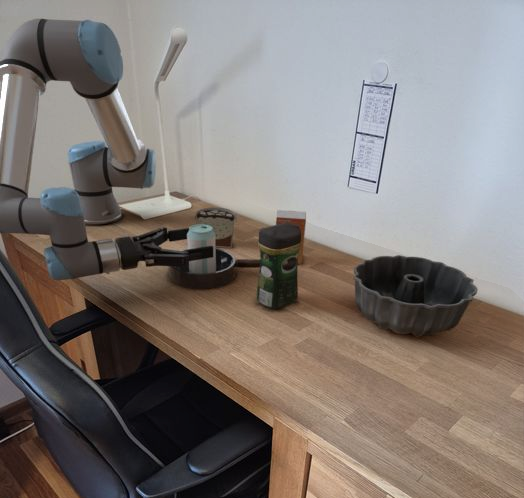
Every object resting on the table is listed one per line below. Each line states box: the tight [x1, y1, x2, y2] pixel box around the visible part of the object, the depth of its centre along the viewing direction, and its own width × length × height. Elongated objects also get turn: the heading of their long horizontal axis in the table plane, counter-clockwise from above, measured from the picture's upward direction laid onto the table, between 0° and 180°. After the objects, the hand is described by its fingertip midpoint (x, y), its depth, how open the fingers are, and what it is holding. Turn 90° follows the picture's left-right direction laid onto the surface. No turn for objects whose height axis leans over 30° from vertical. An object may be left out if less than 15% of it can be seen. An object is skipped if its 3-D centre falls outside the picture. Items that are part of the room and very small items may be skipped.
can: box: [186, 224, 217, 273], centre depth 117 cm, size 7×7×12 cm
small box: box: [275, 209, 307, 265], centre depth 127 cm, size 8×6×13 cm
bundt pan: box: [352, 254, 478, 338], centre depth 103 cm, size 26×26×10 cm
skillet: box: [168, 248, 236, 290], centre depth 119 cm, size 17×17×4 cm
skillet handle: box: [235, 258, 260, 269], centre depth 120 cm, size 13×2×2 cm, turn 95°
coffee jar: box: [256, 222, 301, 310], centre depth 104 cm, size 10×8×19 cm
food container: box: [194, 207, 238, 249], centre depth 136 cm, size 12×6×10 cm, turn 84°
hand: (202, 241), depth 115 cm, fingers open, 13 cm apart
